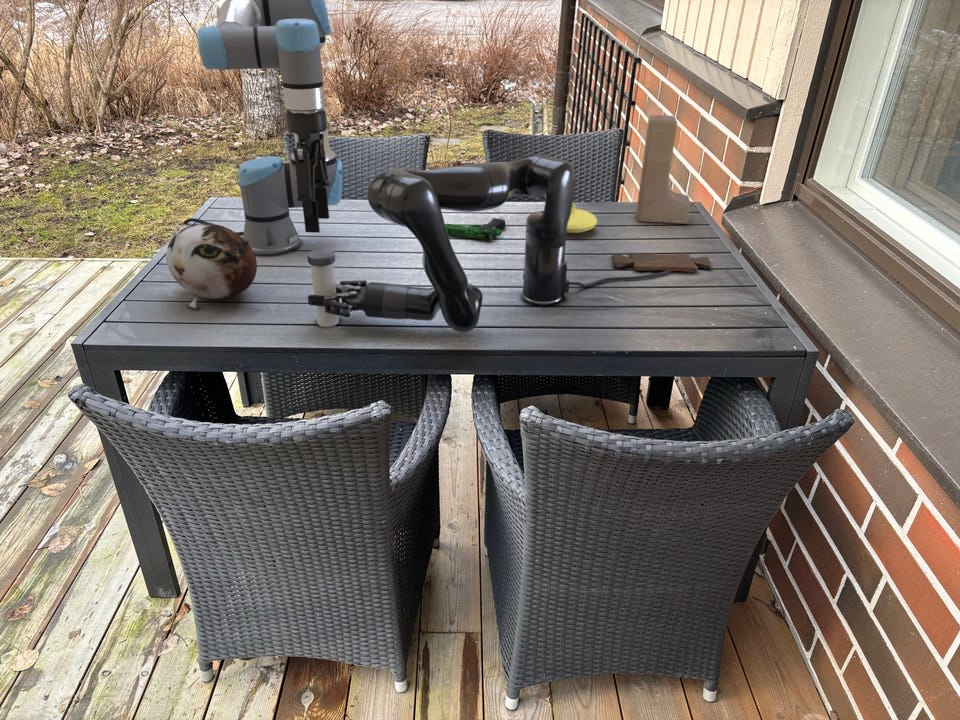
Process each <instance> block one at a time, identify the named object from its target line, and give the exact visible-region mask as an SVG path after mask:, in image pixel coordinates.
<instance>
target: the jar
mask: <svg viewBox="0 0 960 720" xmlns="http://www.w3.org/2000/svg"><path fill="white" fill-rule="evenodd" d="M310 271H311V272H310V273H311V280H312V290H313V295H321V296H325V297H326V296H335V295H336V286H335V284H336V277H335V265H334V263H333V264H331V265H328V266H312V265H310ZM330 301H335V302H336V300H330ZM314 307H315V314H316V323H317V325H318V326H320V327H322V328H331V327H334V326H336V325H338V324H339V323H340V318H339V315H335V314H330V313H326V312H325V307H324V306H314ZM333 309H334V308H333Z"/></svg>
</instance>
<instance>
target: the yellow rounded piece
mask: <svg viewBox="0 0 960 720" xmlns="http://www.w3.org/2000/svg"><path fill="white" fill-rule="evenodd" d="M597 223H598V219H597V217H596V215H595V214H593V213H591V212H589V211H587V210H584V209H578V208H576V205H575V204H572V209H571V215H570V219H569V221H568V224H567V233H566V234H580V233H584V232H585V233H586V232H587V231H591V230H592V229H594V228H596V226H597Z"/></svg>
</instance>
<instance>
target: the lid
mask: <svg viewBox="0 0 960 720" xmlns="http://www.w3.org/2000/svg"><path fill="white" fill-rule="evenodd" d="M335 262H336V255H335V251H334V250H333V249H330V248H315V249H312V250H310V251H308V252H307V263H308V264H309V265H310V266H311V265H312V266H328V265H331V264H333V265H334V263H335Z"/></svg>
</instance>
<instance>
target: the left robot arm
mask: <svg viewBox="0 0 960 720" xmlns="http://www.w3.org/2000/svg"><path fill="white" fill-rule="evenodd" d="M215 13H216V18H217V21H216V24H215V25H210V26H202V27H200V28H199V29H198V30H197V34H196V35H197V47H198V53H199V58H200V61H201V64H202V66H203V67H204V68H205V69H207V70H217V71H223V72H224V71H226V70H228V71H229V70H231V71H232V70H257V69H258V70H266V69H267V70H268V69H269V70H270V69H271V70H272V69H273V70H275V69H280V76H281V84H282V85H281V86H282V90H281V91H280V95H281V96H282V97H283V101H284V107H285V109H286V112H285V120H286V130H287V131H288V132H289V133H291V134H293V135H294V137H293V138H294V144H295V145H294V146H295V148H293V150H292V151H293V152H292V153H291V155H290V162H284V160H283V158H282V157H281V156H273V155H269V156H261V157H257V158H253V159H250V160H247V161H246V162H243V163H242V164H241V165H240V166H239V168H238V170H237V174H238V186H239V189H240V194H241V195H240V196H241V201H242V207H243V212H244V213H243V215H244V219H245V220H244V226H243V228H244V229H243V231H235V232H236V233H237V234H239V235H240V236H242V237H243V238H244V239H245V240H246V241H249V242H248V244H249V245H250V247H251V248H252V250H253V252H254V254H255V256H256V255H257V256H275V255H281V254H282V255H283V254H285V253H289V252H291V251H293V250H296V249H297V248H298V247H299V246H300V244H301V241H300V235H299V233H298V231H297V229H296V227H295V225H294V223H293V220H292V218H291V216H290V209H293V208H294V209H295V208H297V209H298V208H302V211H303V221H304V229H305V233H316V234H318V233H320V232H321V228H320V220H329V219H330V210H329V207H330V206H336V205H338V204H339V203H340V202H341V201H342V194H343V162H342V160H339V159H337V154H336V153H335V152H334V151H333V150H332V149H331V148H330V143H329V139H330V138H329V130H328V119H327V108H326V97H325V87H324V86H325V85H324V77H323V64H322V55H321V50H322V48H323V47H324V46H325V44H326V43H327V40H326V36H329V35H331V34H332V30H331V25H330V20H329V15H328V9H327V5H326V1H325V0H218V2H217V4H216V10H215ZM191 222H192V223H197V224H204V223H206V224H213V223H212V222H209V221H205V220H202V219H199V218H195V217H190V218H187V219H185V220H184V221H183V223H182V225H187V224H189V223H191Z"/></svg>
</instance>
